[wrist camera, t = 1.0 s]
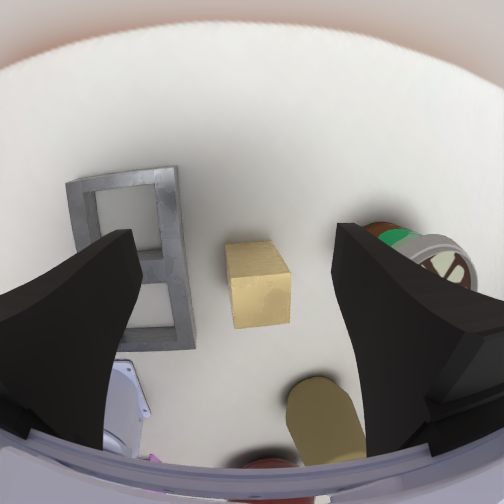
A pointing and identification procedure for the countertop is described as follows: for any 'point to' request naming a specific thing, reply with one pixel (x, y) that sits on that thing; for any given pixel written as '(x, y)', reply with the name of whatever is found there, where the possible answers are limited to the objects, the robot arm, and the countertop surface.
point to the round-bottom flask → (271, 463)
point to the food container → (429, 252)
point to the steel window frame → (152, 261)
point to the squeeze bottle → (324, 423)
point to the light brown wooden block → (257, 284)
